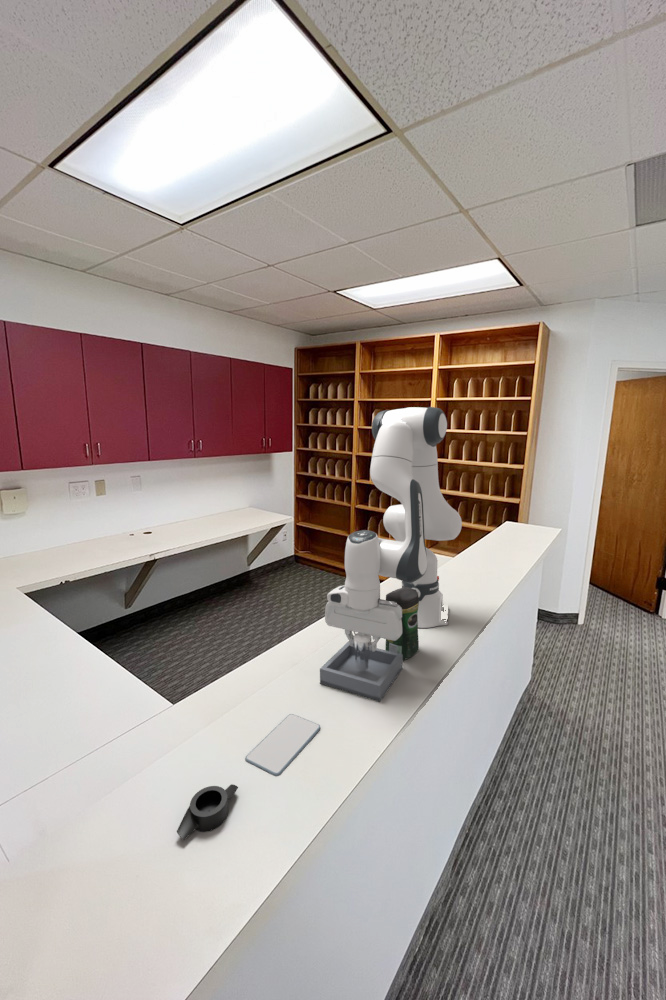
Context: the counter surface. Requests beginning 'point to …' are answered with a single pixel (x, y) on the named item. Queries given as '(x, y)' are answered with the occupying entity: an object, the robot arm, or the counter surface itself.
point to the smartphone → (283, 744)
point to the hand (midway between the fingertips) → (362, 647)
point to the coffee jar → (405, 622)
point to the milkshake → (362, 650)
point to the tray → (362, 672)
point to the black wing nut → (206, 810)
